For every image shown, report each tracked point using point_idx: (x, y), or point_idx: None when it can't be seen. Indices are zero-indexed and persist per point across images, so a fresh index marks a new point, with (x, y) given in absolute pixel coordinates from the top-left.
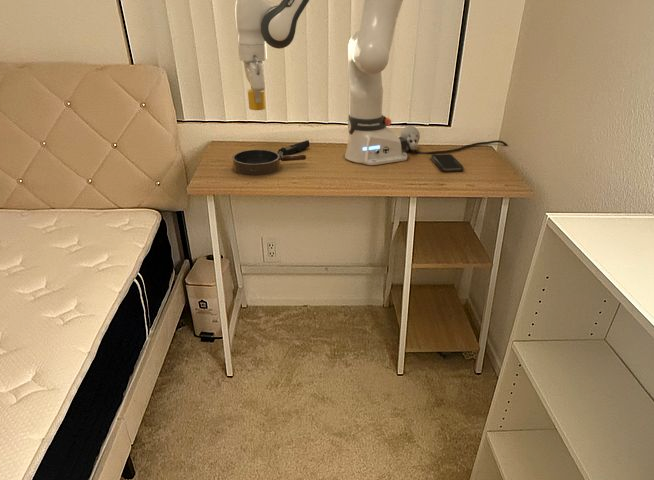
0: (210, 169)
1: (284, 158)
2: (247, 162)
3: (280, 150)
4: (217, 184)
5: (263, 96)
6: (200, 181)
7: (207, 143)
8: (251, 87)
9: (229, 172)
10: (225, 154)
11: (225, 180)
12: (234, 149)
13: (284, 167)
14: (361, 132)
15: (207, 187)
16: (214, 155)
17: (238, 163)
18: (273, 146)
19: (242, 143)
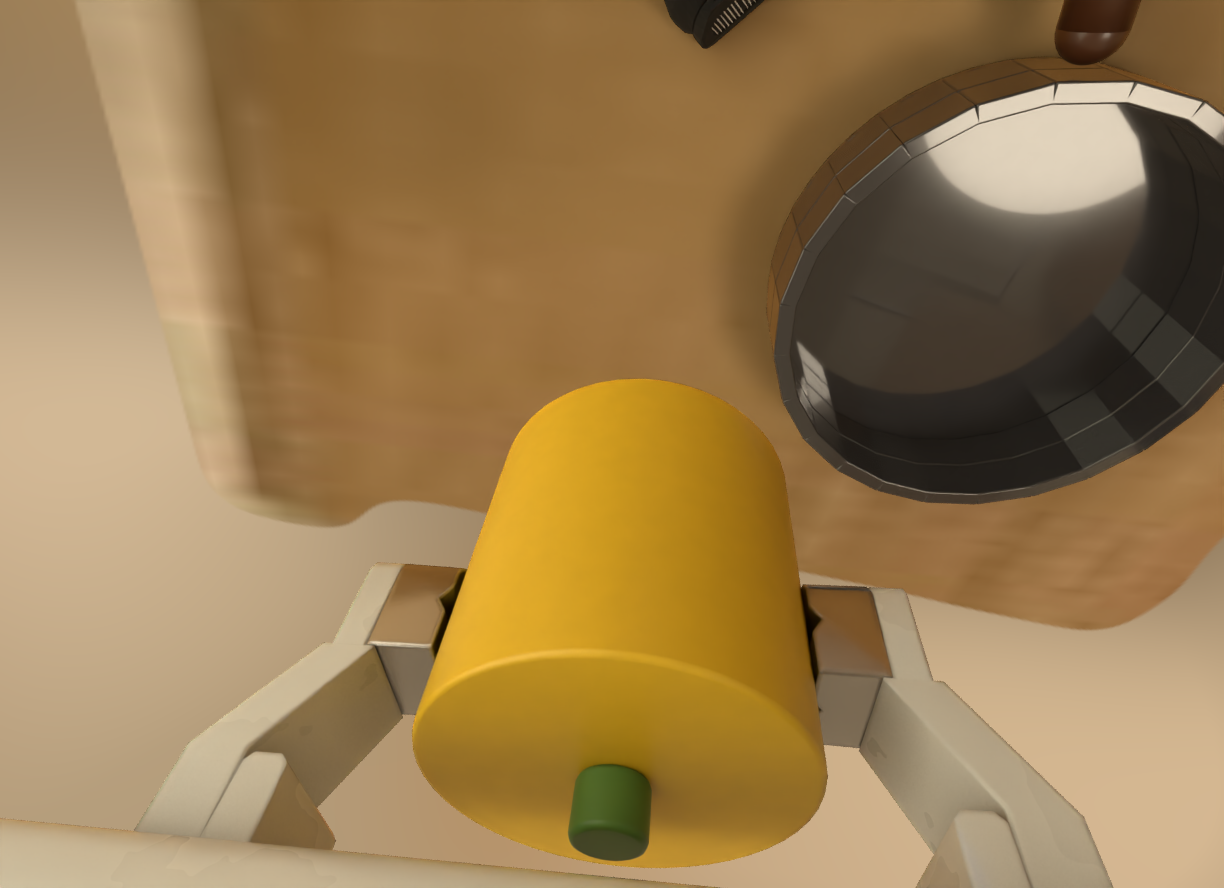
0: (840, 556)
1: (1136, 9)
2: (804, 343)
3: (727, 4)
4: (1149, 554)
5: (739, 576)
6: (1033, 615)
7: (303, 521)
8: (329, 793)
9: None
10: None
11: (1104, 510)
12: (433, 388)
13: None
14: None
15: (1163, 599)
16: None
17: (1078, 475)
18: (333, 30)
19: (272, 315)
